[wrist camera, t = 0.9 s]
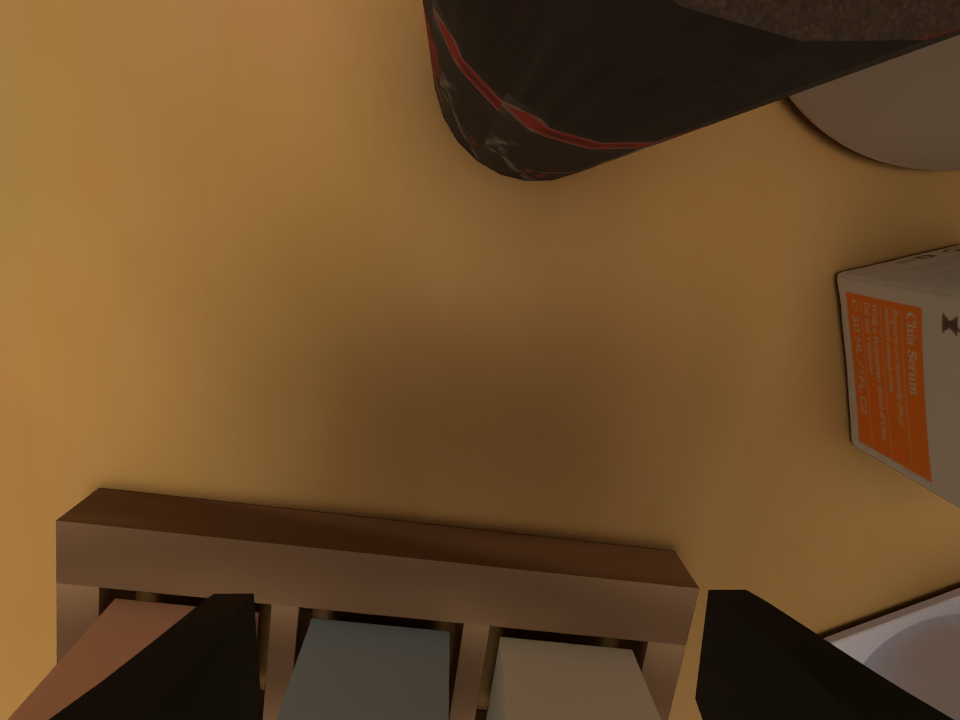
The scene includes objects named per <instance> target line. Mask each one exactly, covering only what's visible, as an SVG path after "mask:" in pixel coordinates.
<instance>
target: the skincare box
mask: <svg viewBox="0 0 960 720" xmlns="http://www.w3.org/2000/svg"><path fill="white" fill-rule="evenodd" d="M837 282H838V289H839V295H840V300H841V312H842V325H843V334H844V343H845V353H846V364H847V375H848V392H849V407H850V421H851V438H852V443H853V444H854V445H855V446H856V447H857V448H859V449H861V450H863V451H864V452H866V453H868V454H869V455H871V456H873V457H874V458H876V459H878V460H879V461H881V462H883V463H884V464H886V465H888V466H889V467H891V468H893V469H894V470H896V471H898V472H900V473H901V474H903V475H905V476H906V477H908V478H910V479H911V480H913V481H915V482H916V483H918V484H920V485H922V486H923V487H925V488H927V489H928V490H930V491H932V492H933V493H935V494H937V495H938V496H940V497H942V498H943V499H945V500H947V501H948V502H950V503H952V504H954V505H956V506H957V507H959V508H960V245H957V246H953V247H949V248H944V249H940V250H936V251H931V252H927V253H922V254H917V255H913V256H909V257H905V258H901V259H897V260H893V261H889V262H885V263H880V264H876V265H872V266H867V267H863V268H858V269H854V270H849V271H844V272H841V273H839V274H838V276H837Z"/></svg>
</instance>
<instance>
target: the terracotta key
mask: <svg viewBox="0 0 960 720" xmlns="http://www.w3.org/2000/svg"><path fill="white" fill-rule="evenodd" d="M195 607H197V606H187V605H177V604H167V603H156V602H146V601H136V600H126V599H114V601H113V602H112V603H111V604H110V605H109V606H108V607H107V608H106V610H105V611H104V612H103V613H102V614H101V615H100V616H99V617H98V619H97V620H96V621H95V622H94V623H93V624H92V625H91V626H90V628H89V629H88V630H87V631H86V632H85V633H84V634H83V635H82V637H81V638H80V639H79V640H78V641H77V642H76V643H75V644H74V646H73V647H72V648H71V649H70V650H69V651H68V652H67V653H66V655H65V656H64V657H63V658H62V659H61V660H60V661H59V663H58V664H57V665H56V666H55V667H54V668H53V669H52V670H51V672H50V673H49V674H48V675H47V676H46V677H45V678H44V679H43V681H42V682H41V683H40V684H39V685H38V686H37V687H36V688H35V690H34V691H33V692H32V693H31V694H30V695H29V696H28V697H27V699H26V700H25V701H24V702H23V703H22V704H21V705H20V706H19V708H18V709H17V710H16V711H15V712H14V713H13V714H12V715H11V717H10V718H9V719H8V720H49V719H50V718H51V717H53V716H54V715H56V714H57V713H58V712H60V711H61V710H63V709H64V708H65V707H67V706H68V705H69V704H71V703H72V702H74V701H75V700H76V699H78V698H79V697H81V696H82V695H83V694H85V693H86V692H88V691H89V690H90V689H92V688H93V687H94V686H96V685H97V684H99V683H100V682H101V681H103V680H104V679H105V678H107V677H108V676H109V675H111V674H112V673H113V672H114V671H116V670H117V669H118V668H120V667H121V666H122V665H123V664H125V663H126V662H127V661H128V660H130V659H131V658H132V657H134V656H135V655H136V654H137V653H139V652H140V651H141V650H143V649H144V648H145V647H146V646H148V645H149V644H150V643H152V642H153V641H154V640H155V639H157V638H158V637H159V636H160V635H162V634H163V633H164V632H165V631H167V630H168V629H169V628H170V627H172V626H173V625H174V624H175V623H177V622H178V621H179V620H180V619H182V618H183V617H184V616H185V615H187V614H188V613H189V612H190V611H192V610H193V609H194V608H195ZM255 619H256V635H257V633H258V620H259V613H258V612H255Z"/></svg>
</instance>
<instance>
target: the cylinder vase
mask: <svg viewBox="0 0 960 720" xmlns="http://www.w3.org/2000/svg"><path fill="white" fill-rule="evenodd" d="M789 98H790V99H791V100H792V102H793V103H794V104H795V105H796V106H797V108H798V109H799V110H800V111H801V112H802V113H803V114H804V115H805V116H806V117H807V118H808V119H809V120H810V121H811V122H812V123H813V124H814V125H816V126H817V127H818V128H819V129H820V130H822V131H823V132H824V133H826V134H827V135H828V136H830V137H831V138H833V139H834V140H836V141H837V142H839V143H840V144H842V145H844V146H845V147H847V148H849V149H851V150H853V151H855V152H857V153H859V154H862V155H864V156H866V157H869V158H871V159H874V160H877V161H880V162H883V163H887V164H890V165H895V166H899V167H905V168H911V169H918V170H932V171H948V170H960V35H958V36H955V37H952V38H949V39H947V40H944V41H941V42H938V43H936V44H933V45H930V46H927V47H925V48H922V49H919V50H916V51H913V52H911V53H908V54H905V55H902V56H900V57H897V58H894V59H891V60H888V61H886V62H883V63H880V64H877V65H875V66H872V67H869V68H866V69H864V70H861V71H858V72H855V73H852V74H850V75H847V76H844V77H841V78H839V79H836V80H833V81H830V82H828V83H825V84H822V85H819V86H816V87H814V88H811V89H808V90H805V91H803V92H800V93H797V94H794V95H791V96H789Z"/></svg>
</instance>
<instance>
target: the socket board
mask: <svg viewBox="0 0 960 720" xmlns="http://www.w3.org/2000/svg"><path fill="white" fill-rule="evenodd" d="M56 582H57V664H58V663H59V661H60V660H61V659H62V658H63V657H64V656H65V655H66V653H67V652H68V651H69V650H70V649H71V648H72V647H73V646H74V644H75V643H76V642H77V641H78V640H79V639H80V638H81V637H82V635H83V634H84V633H85V632H86V631H87V630H88V629H89V628H90V626H91V625H92V624H93V623H94V622H95V621H96V620H97V619H98V617H99V616H100V615H101V614H102V613H103V612H104V611H105V610H106V608H107V607H108V606H109V605H110V604H111V603H112V602H113V601H114V599H126V600H135V591H141V592H151V593H161V594H171V595H182V596H192V597H202V598H209V597H210V596H211V595H213V594H242V593H254V603H262V604H272V608H271V620H270V633H269V646H268V659H267V672H266V684H265V691H260V698H261V708H260V712H259V716H258V719H257V720H276V718H277V715H278V712H279V710H280V707H281V704H282V701H283V698H284V696H285V693H286V690H287V687H288V684H289V681H290V679H291V676H292V673H293V670H294V667H295V664H296V662H297V659H298V656H299V653H300V650H301V647H302V645H303V642H304V639H305V636H306V633H307V630H308V628H309V622H310V612H311V608H313V609H323V610H333V611H343V612H353V613H363V614H374V615H384V616H394V617H404V618H414V619H424V620H434V621H444V622H454V623H457V626H456V633H455V640H454V646H453V653H452V660H451V666H450V673H449V720H486V718H487V712H488V711H478V710H476V709H477V703H478V697H479V691H480V684H481V678H482V672H483V666H484V660H485V654H486V648H487V642H488V636H489V630H490V626H495V627H505V628H515V629H525V630H535V631H545V632H556V633H566V634H576V635H586V636H596V637H606V638H616V639H621V640H620V645H619V648H620V649H630V650H632V651H633V653H634V656H635V658H636V661H637V663H638V665H639V668H640V670H641V673H642V675H643V678H644V680H645V682H646V685H647V687H648V690H649V692H650V694H651V697H652V699H653V702H654V704H655V707H656V709H657V711H658V714H659V716H660V719H661V720H668V717H669V712H670V708H671V704H672V700H673V696H674V692H675V688H676V683H677V679H678V675H679V671H680V667H681V663H682V659H683V655H684V650H685V646H686V642H687V638H688V634H689V630H690V626H691V622H692V617H693V613H694V609H695V605H696V601H697V597H698V593H699V587H698V586H697V584H696V583H695V581H694V580H693V578H692V577H691V575H690V574H689V572H688V571H687V569H686V568H685V566H684V565H683V563H682V562H681V560H680V558H679V557H678V555H677V554H676V552H675V551H667V550H658V549H649V548H640V547H631V546H621V545H612V544H603V543H594V542H585V541H576V540H567V539H558V538H549V537H540V536H530V535H521V534H512V533H503V532H494V531H485V530H476V529H467V528H458V527H448V526H439V525H430V524H421V523H412V522H403V521H394V520H385V519H376V518H366V517H357V516H348V515H339V514H330V513H321V512H312V511H303V510H294V509H284V508H275V507H266V506H257V505H248V504H239V503H230V502H221V501H212V500H203V499H193V498H184V497H175V496H166V495H157V494H148V493H139V492H130V491H121V490H111V489H102V488H98V489H97V490H96V491H94V492H93V493H92V494H90V495H89V496H88V497H86V498H85V499H84V500H83V501H81V502H80V503H79V504H77V505H76V506H75V507H73V508H72V509H71V510H69V511H68V512H67V513H66V514H64V515H63V516H62V517H60V518H59V519H58V520H56Z"/></svg>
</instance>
